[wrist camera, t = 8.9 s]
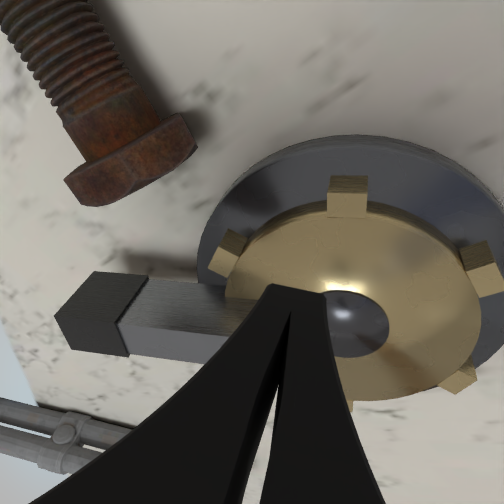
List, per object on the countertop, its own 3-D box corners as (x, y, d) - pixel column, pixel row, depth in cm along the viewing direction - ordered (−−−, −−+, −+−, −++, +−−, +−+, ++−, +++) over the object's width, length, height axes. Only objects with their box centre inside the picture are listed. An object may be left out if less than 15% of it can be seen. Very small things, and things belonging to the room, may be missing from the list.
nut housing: (592, 166, 15) (612, 186, 14) (447, 400, 24) (451, 425, 23) (205, 110, 17) (191, 122, 16) (207, 342, 26) (198, 362, 25)
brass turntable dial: (526, 177, 14) (569, 240, 11) (456, 403, 21) (469, 479, 18) (63, 173, 19) (1, 216, 16) (137, 358, 26) (104, 412, 23)
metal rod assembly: (250, 449, 33) (233, 514, 29) (250, 465, 35) (234, 530, 31) (-13, 384, 38) (-58, 433, 34) (-2, 401, 40) (-43, 450, 36)
